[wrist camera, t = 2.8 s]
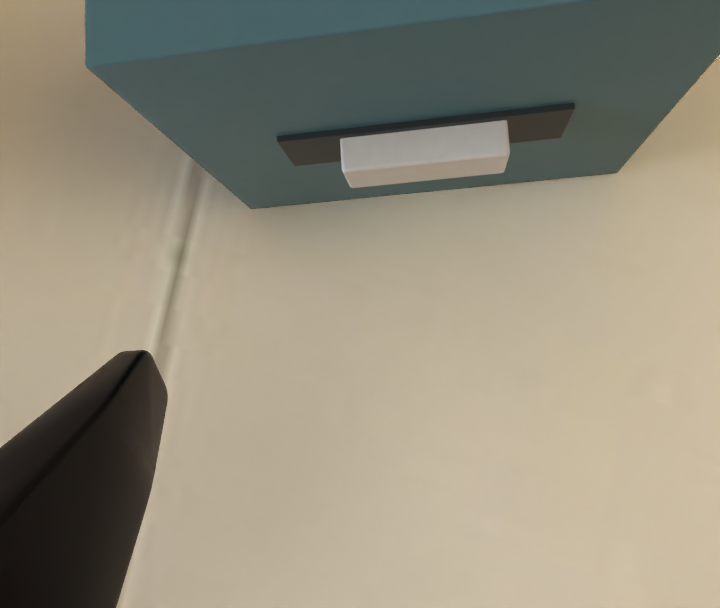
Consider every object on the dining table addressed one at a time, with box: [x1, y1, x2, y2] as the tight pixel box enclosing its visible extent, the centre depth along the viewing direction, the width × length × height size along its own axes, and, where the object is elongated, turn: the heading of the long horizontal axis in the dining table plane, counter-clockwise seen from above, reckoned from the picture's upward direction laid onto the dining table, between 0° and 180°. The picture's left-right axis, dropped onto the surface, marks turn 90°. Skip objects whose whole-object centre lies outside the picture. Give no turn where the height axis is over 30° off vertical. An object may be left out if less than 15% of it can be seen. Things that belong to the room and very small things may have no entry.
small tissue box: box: [85, 0, 720, 209], centre depth 16 cm, size 7×12×10 cm, turn 93°
